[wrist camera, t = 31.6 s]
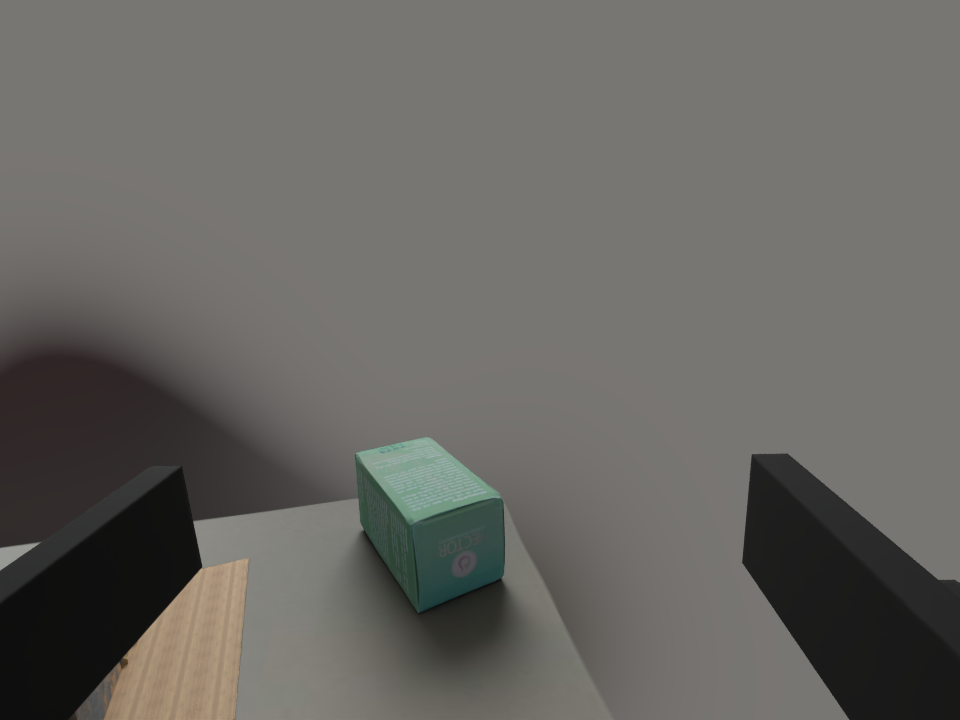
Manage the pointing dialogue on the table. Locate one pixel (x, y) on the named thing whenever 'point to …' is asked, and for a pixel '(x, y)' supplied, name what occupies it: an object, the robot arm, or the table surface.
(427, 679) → the table surface
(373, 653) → the table surface
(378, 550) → the box
